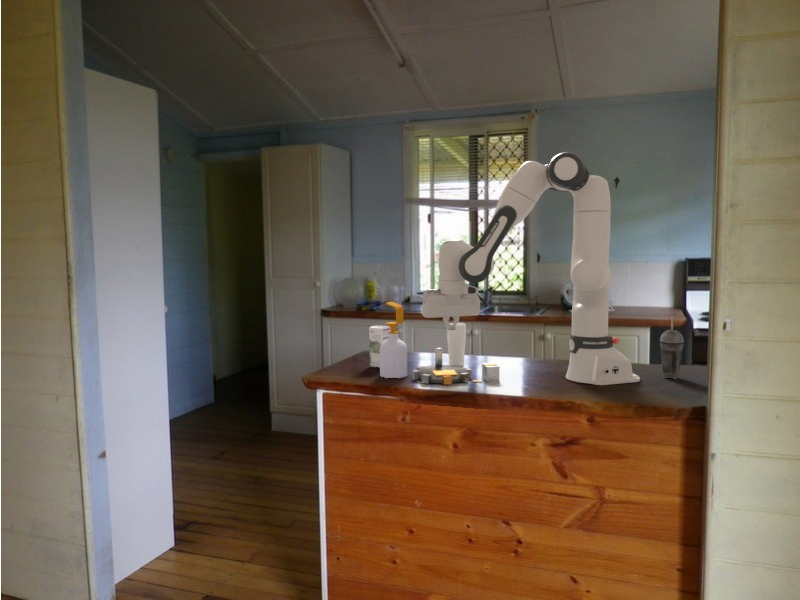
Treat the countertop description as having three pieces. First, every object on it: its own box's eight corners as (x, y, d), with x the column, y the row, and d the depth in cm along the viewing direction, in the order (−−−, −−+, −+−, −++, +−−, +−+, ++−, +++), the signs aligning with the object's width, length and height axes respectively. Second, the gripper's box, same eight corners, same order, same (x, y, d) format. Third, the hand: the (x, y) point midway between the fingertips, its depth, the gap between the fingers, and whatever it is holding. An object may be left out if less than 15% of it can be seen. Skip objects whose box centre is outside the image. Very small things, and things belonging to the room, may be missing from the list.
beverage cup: (658, 379, 195) (660, 316, 193) (657, 374, 201) (659, 314, 199) (684, 381, 192) (686, 317, 190) (682, 376, 199) (684, 314, 197)
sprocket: (464, 370, 209) (464, 345, 209) (477, 383, 191) (477, 356, 190) (409, 372, 207) (409, 347, 206) (417, 385, 189) (417, 358, 188)
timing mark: (472, 381, 195) (472, 380, 195) (473, 381, 196) (473, 380, 196) (481, 382, 193) (481, 381, 193) (482, 381, 194) (482, 380, 194)
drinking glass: (466, 363, 223) (465, 322, 222) (466, 367, 216) (466, 325, 215) (447, 363, 224) (447, 322, 222) (446, 367, 217) (446, 325, 215)
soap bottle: (389, 372, 210) (388, 300, 208) (412, 374, 206) (411, 301, 203) (374, 377, 203) (373, 303, 200) (398, 380, 198) (397, 304, 196)
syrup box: (391, 365, 221) (391, 325, 219) (382, 368, 216) (381, 327, 214) (378, 364, 224) (377, 324, 222) (369, 367, 219) (368, 326, 217)
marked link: (494, 377, 200) (494, 362, 200) (499, 382, 194) (499, 366, 194) (482, 378, 200) (482, 362, 199) (487, 382, 194) (487, 366, 193)
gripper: (426, 290, 197) (426, 333, 199) (482, 288, 205) (482, 329, 206) (418, 288, 203) (418, 330, 205) (473, 287, 211) (473, 327, 212)
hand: (451, 330), depth 206 cm, fingers closed
